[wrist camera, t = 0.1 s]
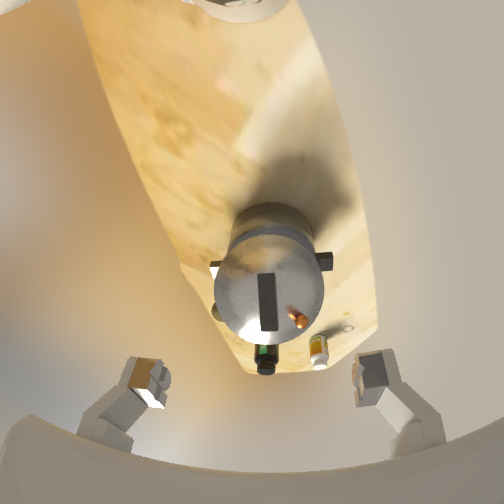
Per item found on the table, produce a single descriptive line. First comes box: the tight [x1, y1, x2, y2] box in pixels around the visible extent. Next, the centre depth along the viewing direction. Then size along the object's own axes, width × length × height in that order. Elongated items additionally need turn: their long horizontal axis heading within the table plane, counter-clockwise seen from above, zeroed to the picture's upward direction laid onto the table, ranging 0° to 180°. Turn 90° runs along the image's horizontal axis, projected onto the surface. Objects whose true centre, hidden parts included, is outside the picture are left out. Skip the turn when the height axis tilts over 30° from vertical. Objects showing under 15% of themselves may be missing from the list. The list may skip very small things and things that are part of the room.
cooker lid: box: [214, 235, 324, 345], centre depth 39 cm, size 16×16×4 cm
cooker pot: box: [210, 203, 333, 279], centre depth 52 cm, size 16×22×10 cm
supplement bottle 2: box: [309, 335, 329, 370], centre depth 76 cm, size 5×5×10 cm
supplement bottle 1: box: [254, 343, 279, 375], centre depth 75 cm, size 7×7×12 cm
